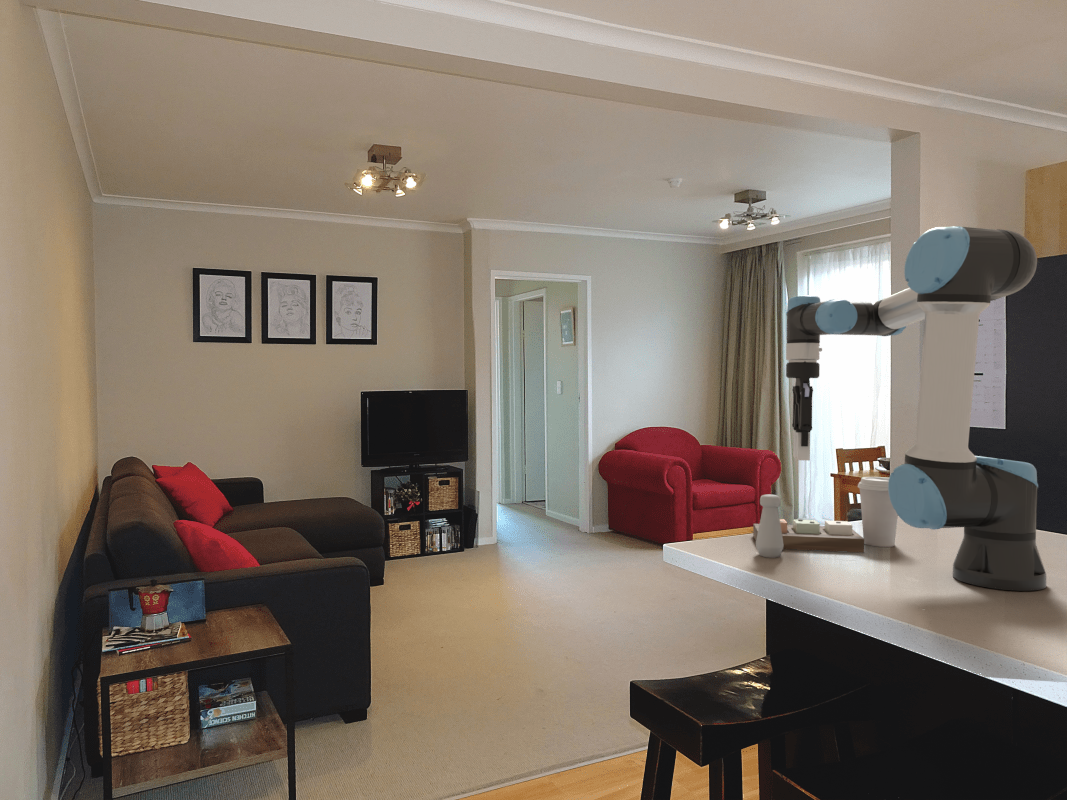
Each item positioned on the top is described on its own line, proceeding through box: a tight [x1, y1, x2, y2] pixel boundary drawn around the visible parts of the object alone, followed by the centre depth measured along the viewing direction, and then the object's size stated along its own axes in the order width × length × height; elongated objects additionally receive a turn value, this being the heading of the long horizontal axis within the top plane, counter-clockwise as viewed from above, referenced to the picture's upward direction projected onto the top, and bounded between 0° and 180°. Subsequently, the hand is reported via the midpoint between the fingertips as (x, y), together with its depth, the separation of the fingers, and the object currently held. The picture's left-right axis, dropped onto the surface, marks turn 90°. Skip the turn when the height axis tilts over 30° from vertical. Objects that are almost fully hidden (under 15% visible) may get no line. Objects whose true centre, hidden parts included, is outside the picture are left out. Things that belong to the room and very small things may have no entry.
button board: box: [752, 523, 865, 553], centre depth 180 cm, size 14×22×3 cm, turn 80°
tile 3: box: [780, 518, 788, 533], centre depth 181 cm, size 5×5×3 cm
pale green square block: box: [792, 519, 821, 534], centre depth 180 cm, size 5×5×3 cm
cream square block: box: [824, 520, 853, 535], centre depth 179 cm, size 5×5×3 cm
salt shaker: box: [755, 493, 784, 559], centre depth 168 cm, size 6×6×13 cm
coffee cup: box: [857, 476, 899, 548], centre depth 180 cm, size 10×10×15 cm
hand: (801, 458), depth 187 cm, fingers open, 5 cm apart
